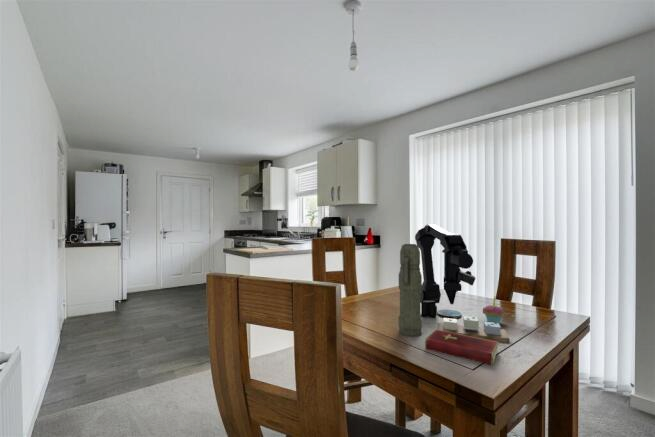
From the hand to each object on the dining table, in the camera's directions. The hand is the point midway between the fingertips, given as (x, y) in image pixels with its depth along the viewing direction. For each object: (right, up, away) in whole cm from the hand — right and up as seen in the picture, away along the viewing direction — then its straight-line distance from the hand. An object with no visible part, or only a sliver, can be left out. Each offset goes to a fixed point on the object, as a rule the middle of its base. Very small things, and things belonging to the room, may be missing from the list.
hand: (451, 304), depth 126 cm
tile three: (+14, -9, -5) cm, 17 cm away
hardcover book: (-4, -12, -18) cm, 22 cm away
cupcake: (+23, -11, +12) cm, 28 cm away
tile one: (-1, -9, 0) cm, 10 cm away
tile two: (+7, -8, -2) cm, 11 cm away
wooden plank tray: (+7, -11, -2) cm, 13 cm away
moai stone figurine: (-17, -11, -1) cm, 20 cm away
